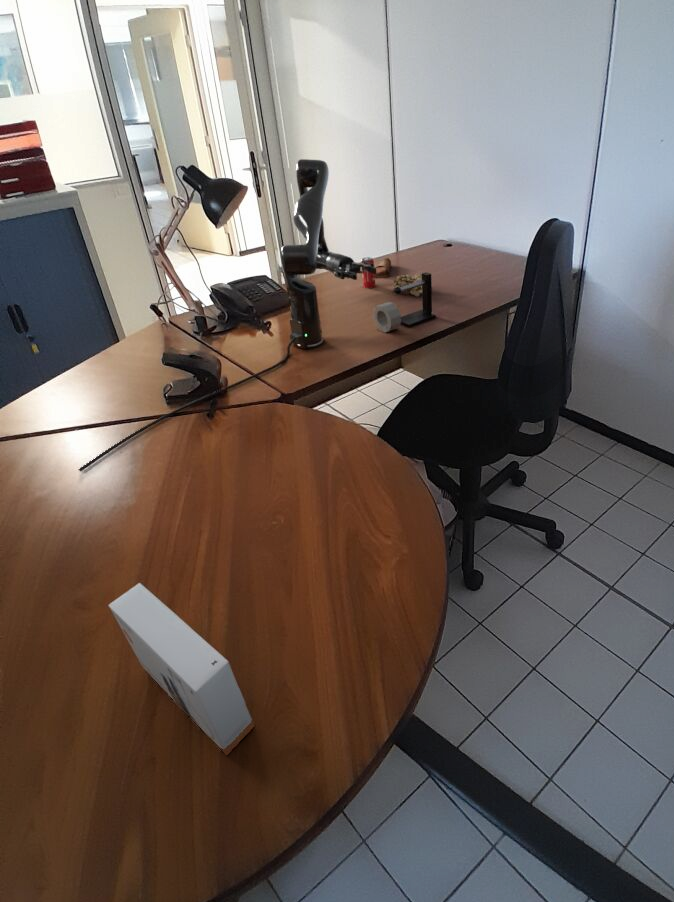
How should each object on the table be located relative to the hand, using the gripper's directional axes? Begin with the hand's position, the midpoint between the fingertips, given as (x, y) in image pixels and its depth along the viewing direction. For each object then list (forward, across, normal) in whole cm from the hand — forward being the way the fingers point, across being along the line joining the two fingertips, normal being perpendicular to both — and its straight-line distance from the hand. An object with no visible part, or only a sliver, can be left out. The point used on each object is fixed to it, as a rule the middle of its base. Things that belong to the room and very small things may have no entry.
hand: (365, 274), depth 193 cm
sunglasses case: (-46, +41, +19) cm, 64 cm away
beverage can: (-33, +24, +18) cm, 45 cm away
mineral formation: (-14, +32, +18) cm, 39 cm away
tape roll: (+11, 0, +18) cm, 21 cm away
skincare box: (+99, -106, +17) cm, 146 cm away
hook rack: (+11, +13, +18) cm, 25 cm away
